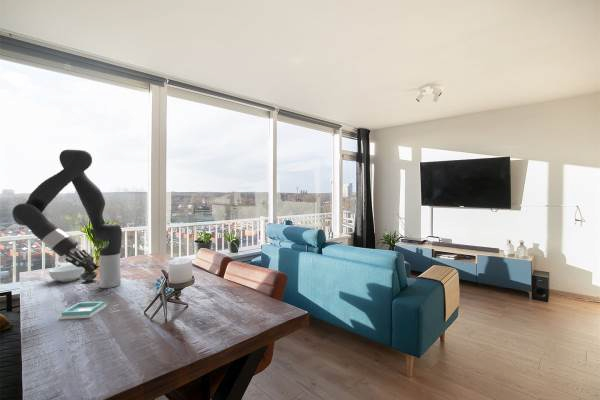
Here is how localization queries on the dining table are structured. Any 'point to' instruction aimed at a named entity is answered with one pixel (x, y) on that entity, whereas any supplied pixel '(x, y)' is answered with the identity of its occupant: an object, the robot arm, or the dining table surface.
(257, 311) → the dining table surface
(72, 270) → the cereal bowl
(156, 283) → the gear
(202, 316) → the dining table surface
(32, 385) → the dining table surface
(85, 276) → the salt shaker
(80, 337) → the dining table surface
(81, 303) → the socket board
